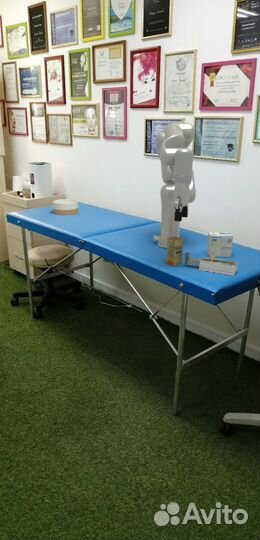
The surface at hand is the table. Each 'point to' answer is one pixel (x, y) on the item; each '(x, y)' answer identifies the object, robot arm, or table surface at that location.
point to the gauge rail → (219, 266)
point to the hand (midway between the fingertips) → (181, 219)
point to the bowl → (65, 207)
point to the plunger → (196, 260)
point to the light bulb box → (220, 244)
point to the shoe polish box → (174, 251)
